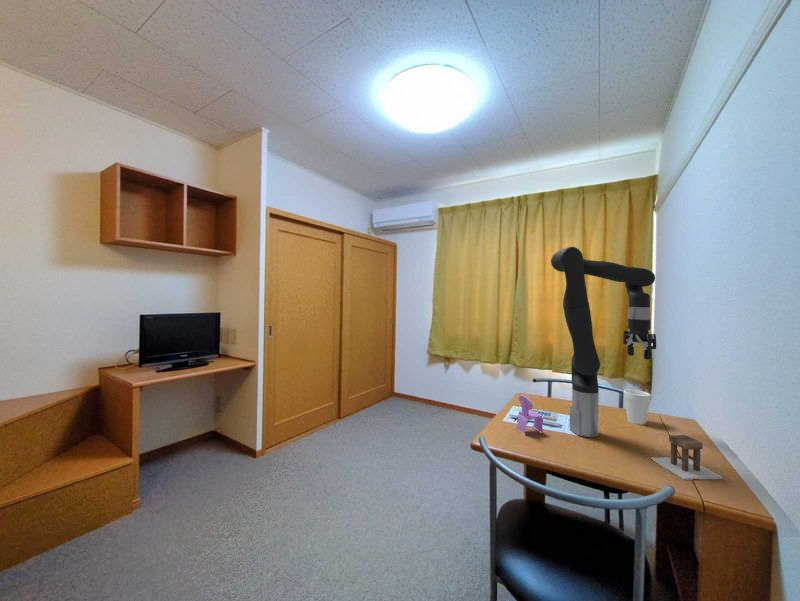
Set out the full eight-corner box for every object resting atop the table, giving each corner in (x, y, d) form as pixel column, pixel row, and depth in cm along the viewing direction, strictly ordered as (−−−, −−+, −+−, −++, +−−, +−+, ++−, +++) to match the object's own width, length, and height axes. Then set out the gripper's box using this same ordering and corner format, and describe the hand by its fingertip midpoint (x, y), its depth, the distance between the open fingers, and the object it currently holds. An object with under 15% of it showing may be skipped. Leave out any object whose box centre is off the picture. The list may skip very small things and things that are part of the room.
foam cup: (655, 426, 135) (656, 395, 135) (635, 426, 134) (635, 396, 134) (637, 417, 144) (637, 389, 144) (618, 418, 144) (618, 389, 143)
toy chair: (545, 434, 126) (545, 397, 126) (526, 437, 124) (526, 399, 124) (532, 426, 134) (532, 391, 134) (513, 428, 132) (514, 392, 132)
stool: (702, 471, 98) (702, 442, 98) (685, 472, 98) (685, 443, 98) (685, 462, 104) (685, 435, 104) (668, 462, 104) (669, 435, 104)
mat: (684, 479, 95) (684, 477, 95) (650, 459, 107) (650, 457, 107) (722, 478, 95) (722, 476, 95) (684, 458, 107) (684, 456, 107)
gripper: (662, 319, 124) (662, 360, 124) (634, 317, 138) (633, 354, 138) (644, 319, 123) (644, 360, 123) (617, 317, 138) (617, 354, 138)
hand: (638, 357), depth 131 cm, fingers open, 8 cm apart
